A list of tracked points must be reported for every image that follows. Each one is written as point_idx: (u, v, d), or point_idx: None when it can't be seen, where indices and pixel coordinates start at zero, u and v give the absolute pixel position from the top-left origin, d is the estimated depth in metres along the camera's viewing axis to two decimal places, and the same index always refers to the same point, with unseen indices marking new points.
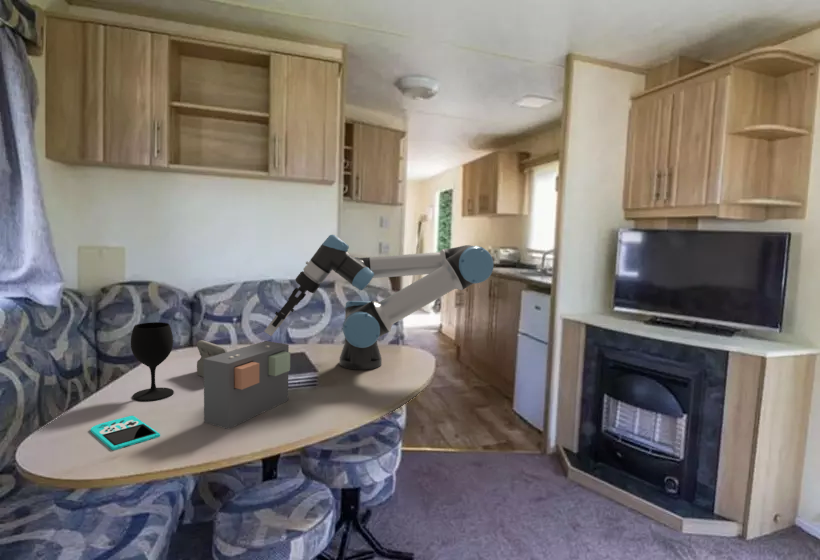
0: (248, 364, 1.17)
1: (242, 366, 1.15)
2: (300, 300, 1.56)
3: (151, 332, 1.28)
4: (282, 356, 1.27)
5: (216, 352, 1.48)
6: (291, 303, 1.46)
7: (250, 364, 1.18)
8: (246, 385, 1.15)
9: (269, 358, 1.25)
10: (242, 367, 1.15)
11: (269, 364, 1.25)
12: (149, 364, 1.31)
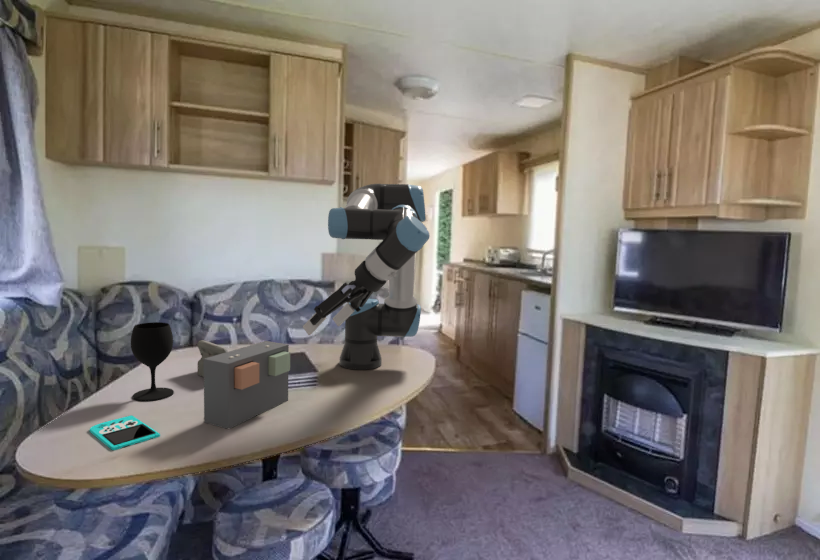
0: (248, 364, 1.17)
1: (242, 366, 1.15)
2: None
3: (151, 332, 1.28)
4: (282, 356, 1.27)
5: (216, 352, 1.48)
6: None
7: (250, 364, 1.18)
8: (246, 385, 1.15)
9: (269, 358, 1.25)
10: (242, 367, 1.15)
11: (269, 364, 1.25)
12: (149, 364, 1.31)
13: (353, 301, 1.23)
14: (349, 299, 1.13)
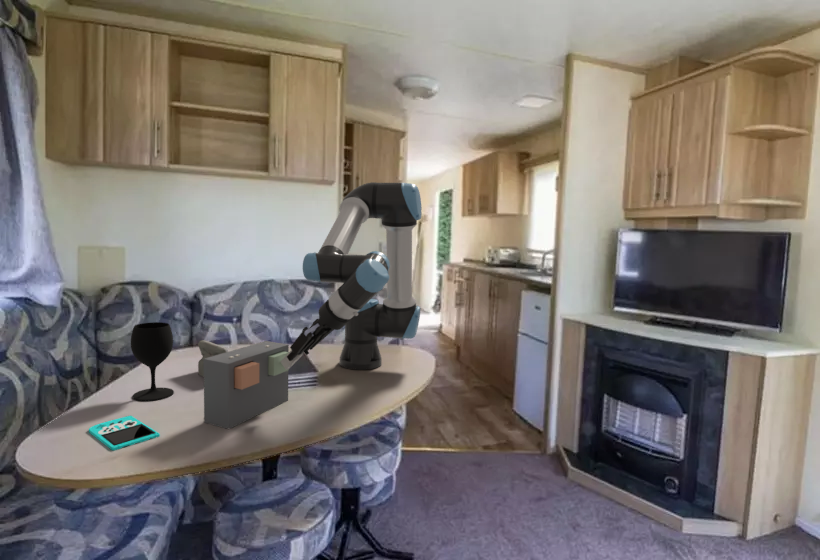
0: (248, 364, 1.17)
1: (242, 366, 1.15)
2: None
3: (151, 332, 1.28)
4: (281, 356, 1.27)
5: (217, 352, 1.48)
6: None
7: (250, 364, 1.18)
8: (246, 385, 1.15)
9: (268, 358, 1.25)
10: (242, 367, 1.15)
11: (268, 364, 1.25)
12: (149, 364, 1.31)
13: None
14: (315, 338, 1.20)
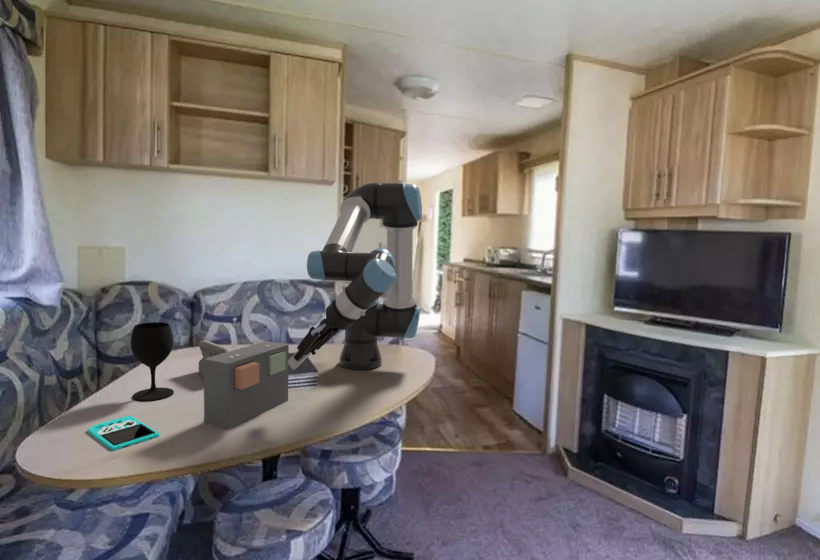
0: (248, 364, 1.17)
1: (242, 366, 1.15)
2: None
3: (151, 332, 1.28)
4: (277, 355, 1.27)
5: (217, 352, 1.48)
6: None
7: (250, 364, 1.18)
8: (246, 385, 1.15)
9: None
10: (242, 367, 1.15)
11: None
12: (149, 364, 1.31)
13: None
14: (322, 338, 1.19)
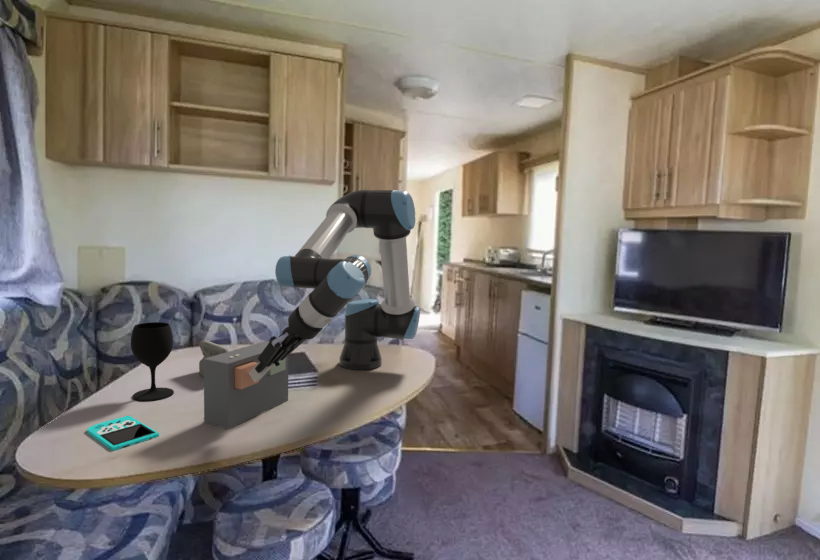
0: (247, 364, 1.17)
1: (241, 366, 1.16)
2: None
3: (151, 332, 1.28)
4: None
5: (217, 352, 1.48)
6: None
7: (250, 363, 1.18)
8: (245, 385, 1.15)
9: None
10: (241, 367, 1.15)
11: None
12: (149, 364, 1.31)
13: None
14: (285, 348, 1.09)
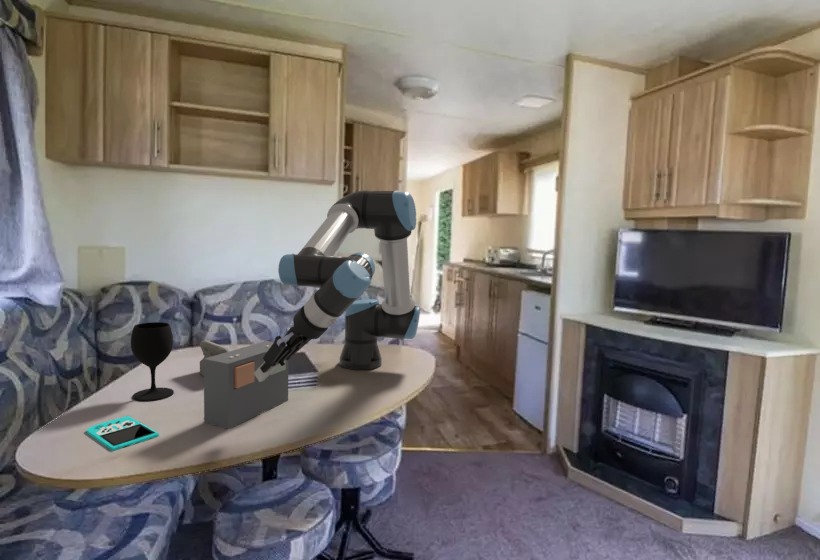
0: None
1: None
2: None
3: (151, 332, 1.28)
4: None
5: (218, 352, 1.48)
6: None
7: (245, 363, 1.18)
8: (241, 384, 1.16)
9: None
10: (237, 366, 1.15)
11: None
12: (149, 364, 1.31)
13: None
14: (290, 348, 1.08)
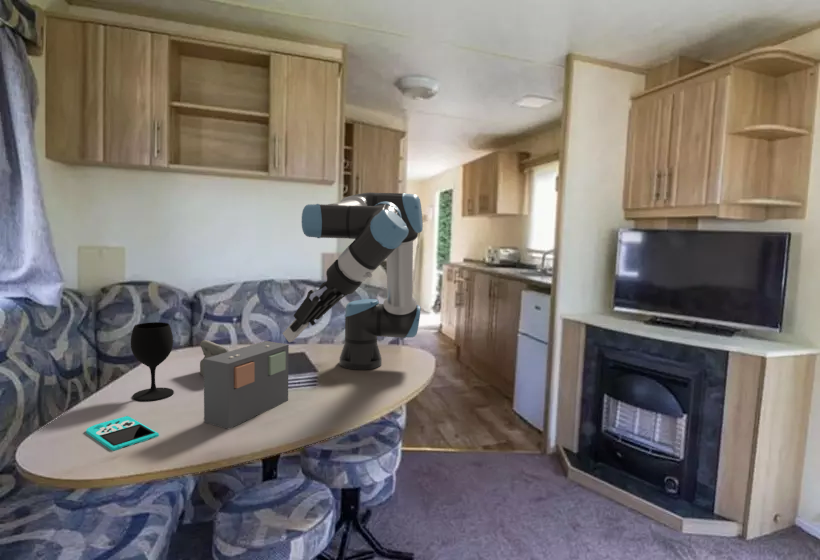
0: None
1: None
2: None
3: (151, 332, 1.28)
4: (277, 355, 1.27)
5: (218, 352, 1.48)
6: None
7: (245, 363, 1.18)
8: (241, 384, 1.16)
9: None
10: (237, 366, 1.15)
11: None
12: (149, 364, 1.31)
13: None
14: (322, 304, 1.04)
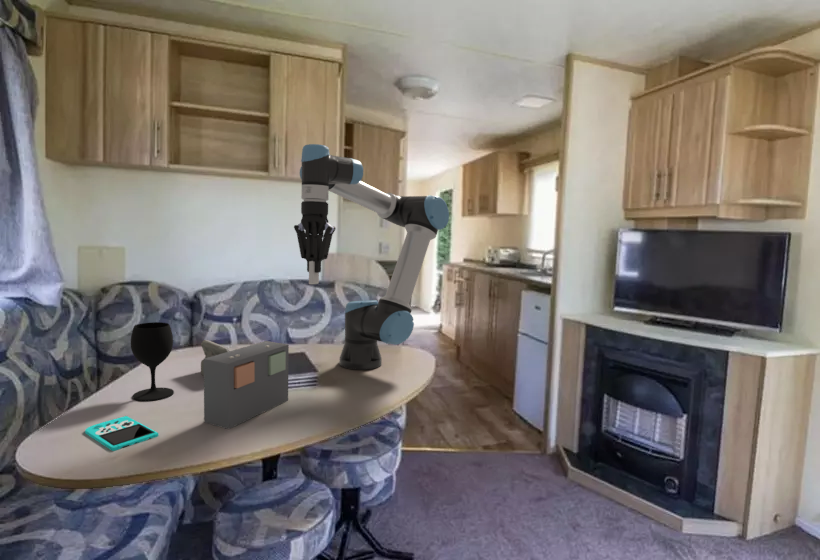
0: None
1: None
2: None
3: (151, 332, 1.28)
4: (277, 355, 1.27)
5: (219, 352, 1.48)
6: (328, 242, 1.34)
7: (245, 363, 1.18)
8: (241, 384, 1.16)
9: None
10: (237, 366, 1.15)
11: None
12: (149, 364, 1.31)
13: None
14: None
